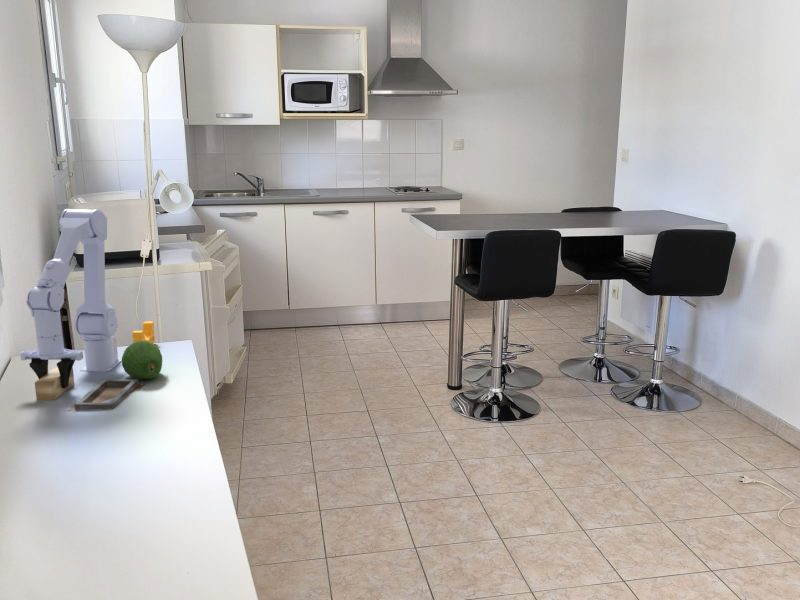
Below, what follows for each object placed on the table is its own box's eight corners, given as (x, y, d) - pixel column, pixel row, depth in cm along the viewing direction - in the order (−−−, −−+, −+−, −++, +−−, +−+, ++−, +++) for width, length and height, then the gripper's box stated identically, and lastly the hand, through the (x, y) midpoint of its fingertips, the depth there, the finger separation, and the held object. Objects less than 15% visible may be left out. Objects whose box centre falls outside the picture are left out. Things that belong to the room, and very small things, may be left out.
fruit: (170, 385, 185) (167, 348, 183) (129, 391, 181) (126, 353, 178) (158, 368, 198) (155, 333, 196) (120, 373, 193) (117, 338, 191)
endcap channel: (98, 386, 184) (97, 378, 183) (145, 387, 184) (144, 378, 183) (67, 413, 167) (66, 405, 166) (119, 414, 167) (118, 405, 166)
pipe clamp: (140, 341, 222) (139, 321, 221) (155, 341, 223) (153, 321, 221) (128, 353, 211) (126, 332, 209) (143, 353, 211) (141, 332, 209)
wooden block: (59, 384, 186) (56, 366, 185) (74, 384, 186) (72, 366, 185) (36, 402, 174) (34, 382, 173) (53, 402, 174) (51, 382, 173)
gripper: (11, 339, 172) (18, 392, 176) (72, 339, 172) (77, 392, 176) (26, 331, 179) (32, 382, 182) (84, 331, 179) (89, 382, 183)
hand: (55, 386), depth 180 cm, fingers open, 4 cm apart
